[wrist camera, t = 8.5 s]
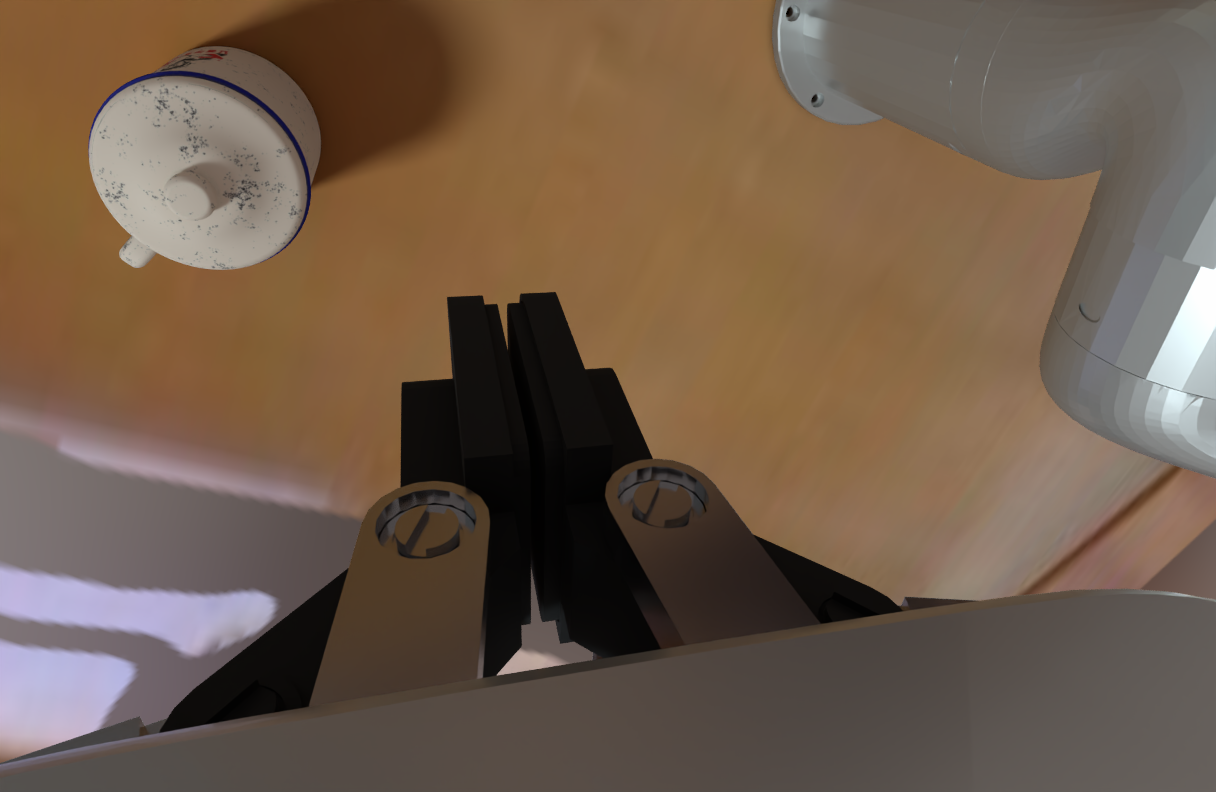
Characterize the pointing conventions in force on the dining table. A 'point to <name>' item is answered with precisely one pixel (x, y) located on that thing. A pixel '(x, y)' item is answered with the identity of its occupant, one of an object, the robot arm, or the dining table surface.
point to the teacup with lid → (207, 159)
